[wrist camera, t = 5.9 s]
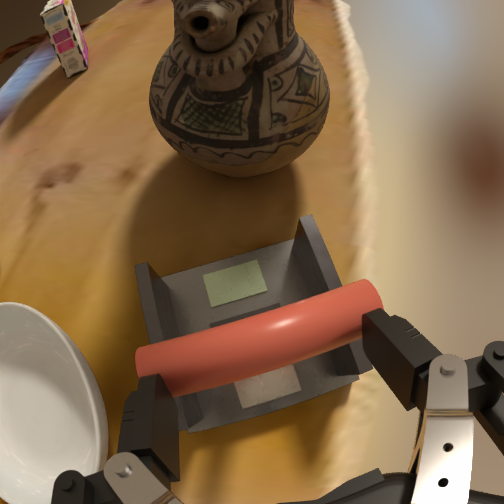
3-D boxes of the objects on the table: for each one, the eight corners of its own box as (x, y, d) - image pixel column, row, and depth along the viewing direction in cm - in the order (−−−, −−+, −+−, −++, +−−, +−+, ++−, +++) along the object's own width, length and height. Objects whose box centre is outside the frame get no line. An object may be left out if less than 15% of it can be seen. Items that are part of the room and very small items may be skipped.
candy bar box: (90, 68, 46) (63, 2, 31) (67, 79, 45) (38, 15, 30) (89, 48, 50) (68, -10, 35) (69, 57, 50) (46, 1, 34)
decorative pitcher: (196, 90, 41) (170, -67, 18) (319, 101, 40) (344, -65, 17) (144, 216, 33) (36, 6, 10) (310, 238, 31) (384, -17, 8)
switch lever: (312, 322, 25) (390, 331, 12) (193, 359, 24) (149, 408, 11) (304, 294, 25) (373, 275, 12) (184, 330, 24) (129, 350, 11)
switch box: (352, 379, 26) (386, 377, 18) (193, 429, 24) (169, 447, 17) (301, 244, 31) (315, 201, 24) (155, 287, 29) (124, 256, 22)
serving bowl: (125, 527, 19) (96, 553, 13) (-15, 452, 21) (-52, 454, 14) (145, 341, 28) (115, 328, 21) (2, 301, 29) (-35, 283, 22)
